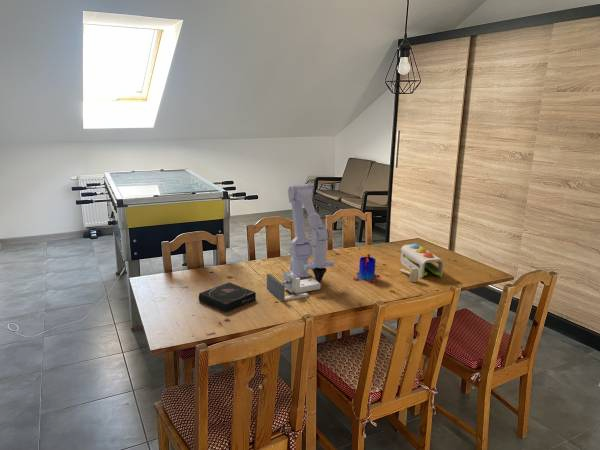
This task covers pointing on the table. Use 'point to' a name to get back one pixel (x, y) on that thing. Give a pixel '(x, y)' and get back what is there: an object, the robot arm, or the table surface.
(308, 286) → the bracket
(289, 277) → the gauge plate
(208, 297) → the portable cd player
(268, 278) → the grey plate with rod
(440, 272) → the pound a ball toy
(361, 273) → the fantasy tower
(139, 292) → the table surface
